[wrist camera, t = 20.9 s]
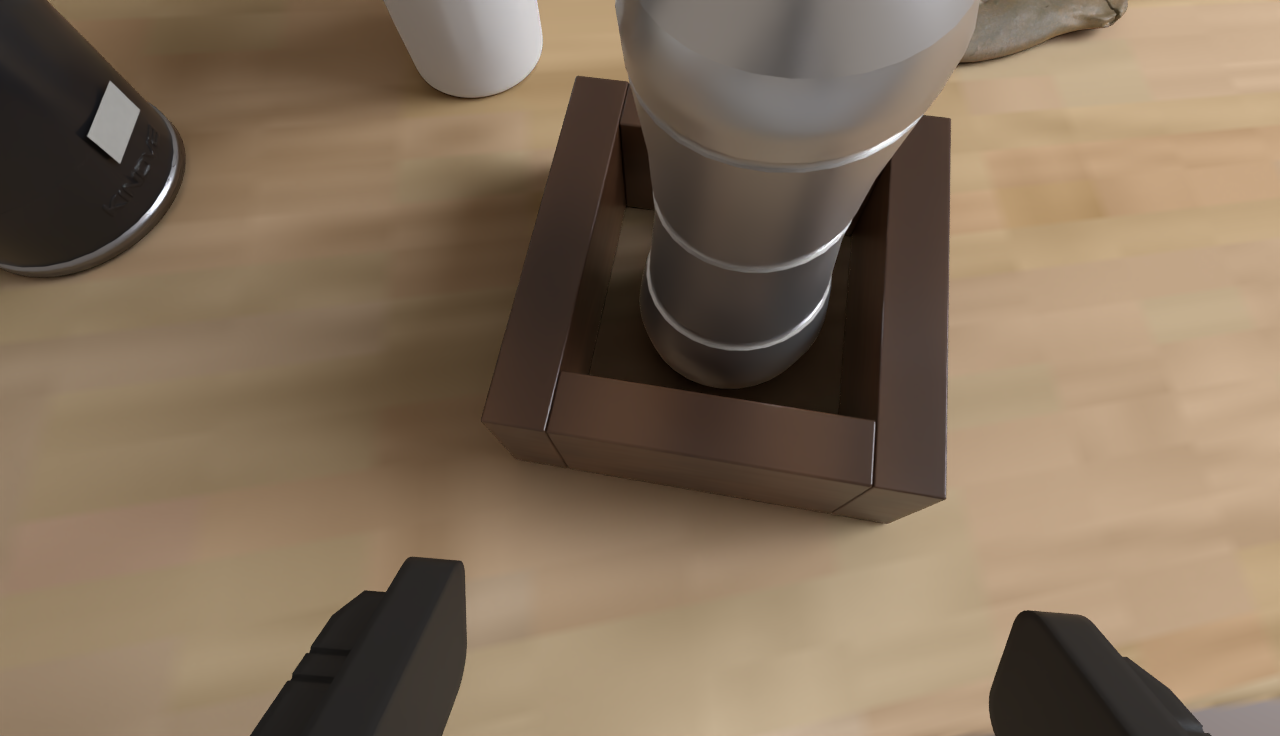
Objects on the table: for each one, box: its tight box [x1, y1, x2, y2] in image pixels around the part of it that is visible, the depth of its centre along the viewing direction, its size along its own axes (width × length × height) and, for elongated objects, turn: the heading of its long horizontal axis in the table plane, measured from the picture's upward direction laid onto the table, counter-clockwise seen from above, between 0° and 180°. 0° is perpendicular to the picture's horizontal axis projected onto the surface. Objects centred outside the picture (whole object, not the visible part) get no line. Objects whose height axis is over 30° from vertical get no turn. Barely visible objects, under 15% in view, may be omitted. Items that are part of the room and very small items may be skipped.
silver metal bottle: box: [615, 0, 980, 389], centre depth 16 cm, size 6×7×20 cm
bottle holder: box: [481, 76, 951, 524], centre depth 23 cm, size 14×14×5 cm
